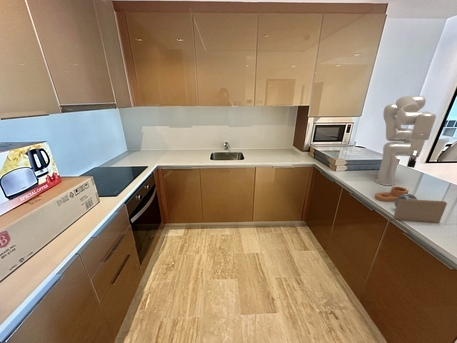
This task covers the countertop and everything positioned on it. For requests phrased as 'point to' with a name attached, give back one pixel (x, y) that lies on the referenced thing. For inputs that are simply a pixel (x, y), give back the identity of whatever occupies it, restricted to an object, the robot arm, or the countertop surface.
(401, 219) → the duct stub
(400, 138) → the robot arm
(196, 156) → the countertop surface
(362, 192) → the countertop surface
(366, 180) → the countertop surface
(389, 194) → the bracket
